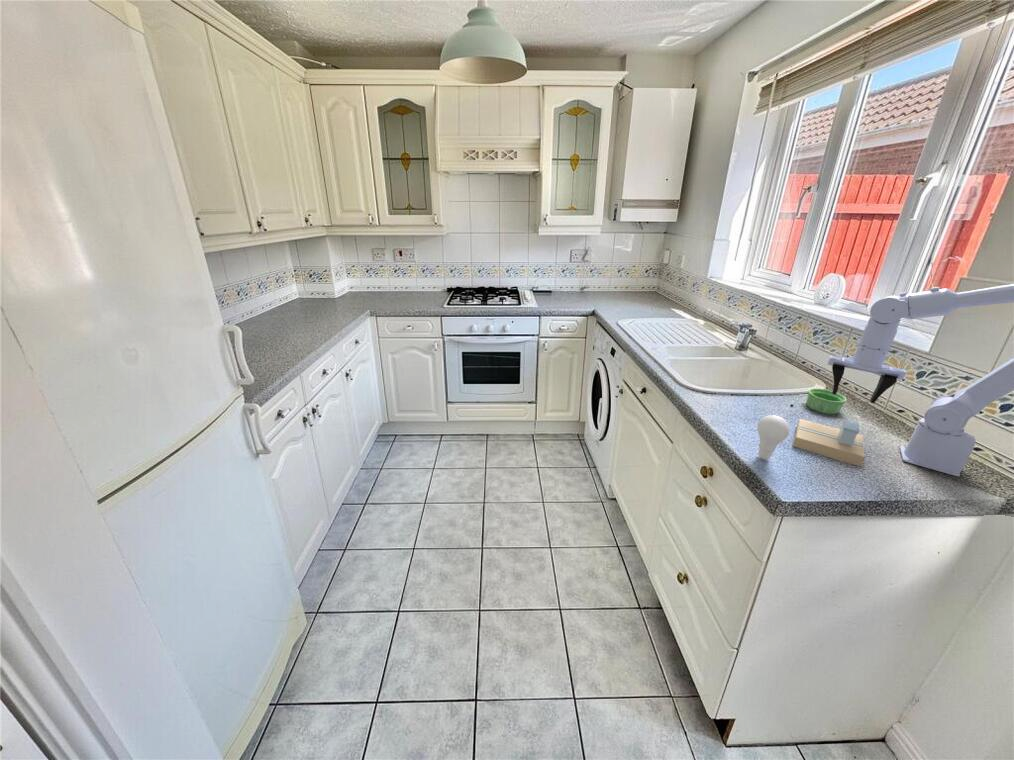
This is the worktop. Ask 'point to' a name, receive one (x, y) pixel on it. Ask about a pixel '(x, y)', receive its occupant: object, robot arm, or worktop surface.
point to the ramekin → (825, 401)
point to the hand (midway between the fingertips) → (852, 397)
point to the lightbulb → (771, 434)
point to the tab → (848, 432)
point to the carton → (827, 442)
